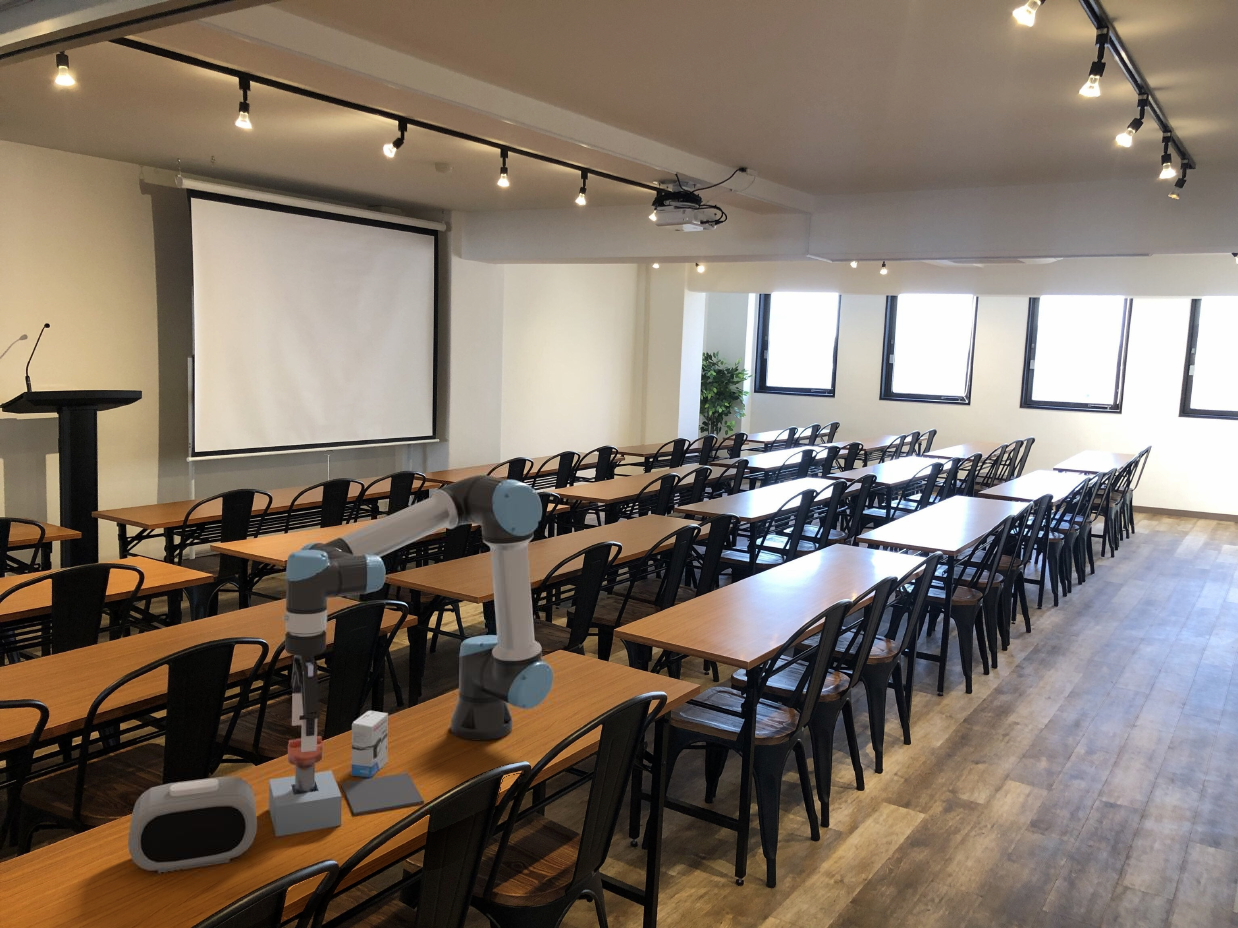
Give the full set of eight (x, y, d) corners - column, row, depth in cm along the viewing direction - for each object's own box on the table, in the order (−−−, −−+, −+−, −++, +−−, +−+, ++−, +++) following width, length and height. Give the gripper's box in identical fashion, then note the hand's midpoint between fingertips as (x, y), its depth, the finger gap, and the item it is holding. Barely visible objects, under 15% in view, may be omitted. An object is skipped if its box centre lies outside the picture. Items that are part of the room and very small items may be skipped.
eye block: (331, 798, 191) (331, 770, 191) (341, 825, 181) (341, 795, 180) (269, 808, 186) (269, 779, 185) (275, 836, 175) (276, 806, 175)
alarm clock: (128, 881, 159) (127, 806, 157) (132, 853, 168) (131, 782, 166) (257, 860, 167) (257, 789, 166) (254, 834, 176) (255, 767, 174)
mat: (407, 774, 203) (407, 772, 203) (423, 803, 191) (423, 800, 191) (341, 785, 197) (341, 782, 197) (354, 815, 185) (354, 812, 185)
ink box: (370, 778, 201) (371, 726, 200) (349, 775, 202) (350, 723, 201) (388, 762, 209) (389, 712, 208) (368, 759, 210) (368, 709, 209)
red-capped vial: (319, 806, 188) (319, 730, 186) (324, 821, 182) (324, 742, 180) (285, 812, 185) (286, 734, 183) (289, 827, 179) (290, 747, 177)
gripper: (278, 615, 189) (276, 716, 191) (293, 651, 166) (291, 765, 169) (316, 612, 192) (314, 712, 194) (337, 648, 170) (334, 759, 172)
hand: (303, 737), depth 181 cm, fingers open, 13 cm apart
